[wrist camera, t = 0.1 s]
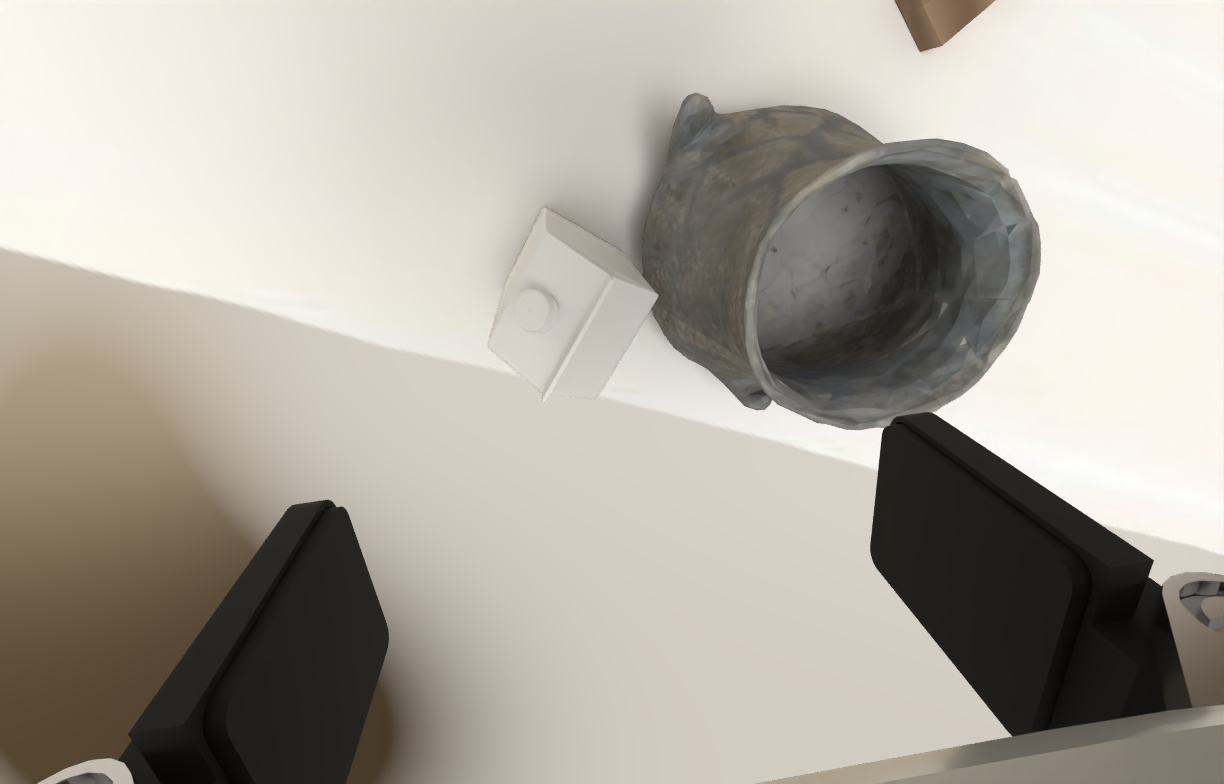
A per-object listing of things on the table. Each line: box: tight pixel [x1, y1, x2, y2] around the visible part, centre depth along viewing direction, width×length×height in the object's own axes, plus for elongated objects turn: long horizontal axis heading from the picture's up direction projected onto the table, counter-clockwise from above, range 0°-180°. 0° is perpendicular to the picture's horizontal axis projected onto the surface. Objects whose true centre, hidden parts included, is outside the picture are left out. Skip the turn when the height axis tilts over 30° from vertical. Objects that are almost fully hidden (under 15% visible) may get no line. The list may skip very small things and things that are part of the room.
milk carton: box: [488, 207, 658, 403], centre depth 36 cm, size 7×7×19 cm
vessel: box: [642, 93, 1041, 430], centre depth 37 cm, size 22×22×20 cm
